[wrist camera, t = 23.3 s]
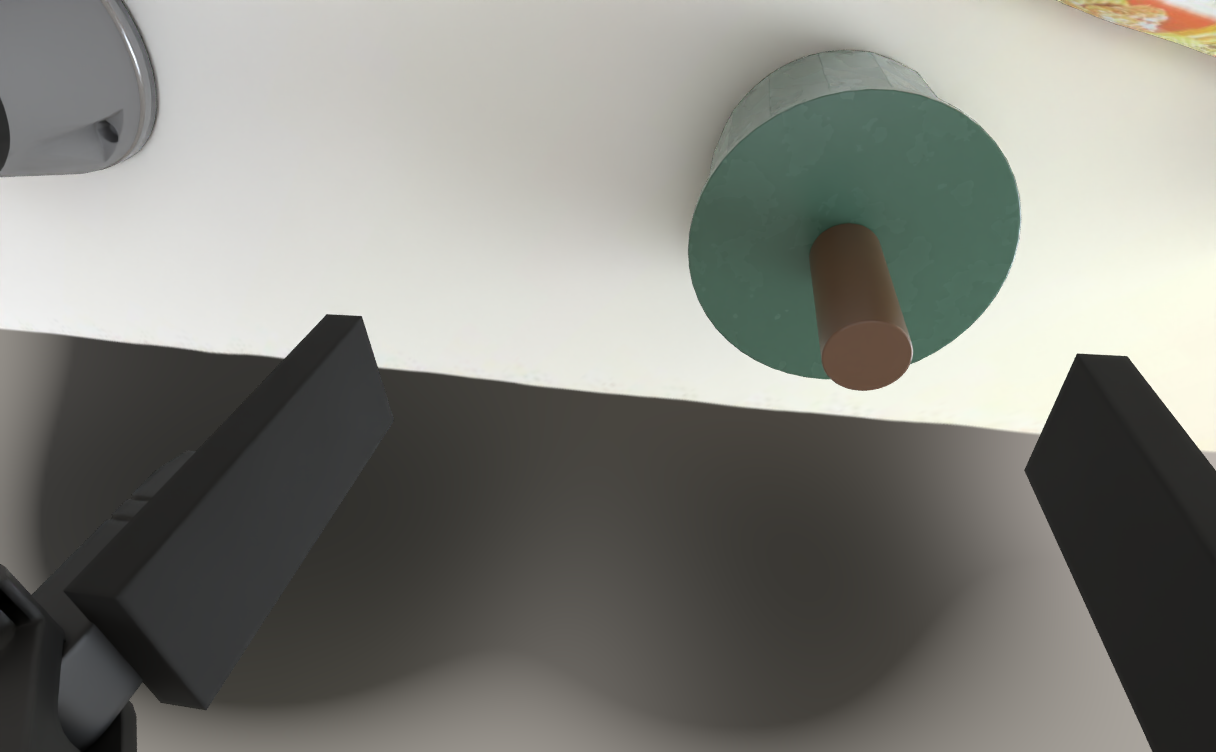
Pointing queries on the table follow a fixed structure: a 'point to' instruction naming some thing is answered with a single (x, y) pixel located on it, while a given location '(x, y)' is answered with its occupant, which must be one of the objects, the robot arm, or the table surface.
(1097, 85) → the table surface
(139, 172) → the table surface
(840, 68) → the tin
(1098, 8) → the snack package
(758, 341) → the lid
